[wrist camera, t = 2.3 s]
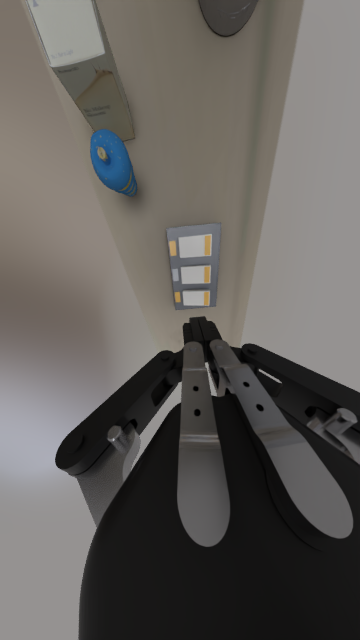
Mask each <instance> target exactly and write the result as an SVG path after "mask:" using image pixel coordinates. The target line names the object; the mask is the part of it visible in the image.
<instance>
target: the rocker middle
mask: <svg viewBox="0 0 360 640" xmlns="http://www.w3.org/2000/svg"><path fill="white" fill-rule="evenodd" d="M210 275H211V265H195V266H182V267H181V277H182V284H200V283H210Z"/></svg>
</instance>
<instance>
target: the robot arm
mask: <svg viewBox="0 0 360 640" xmlns="http://www.w3.org/2000/svg"><path fill="white" fill-rule="evenodd" d="M257 1H258V0H199V2H200V6H201V9H202V12H203V14H204V17H205V19H206V21H207V22H208V24H209V26H210V27H211V28H212V29H213V30H214V31H215V32H216V33H218V34H220V35H226V36H228V35H231V34H234V33H236V32H237V31H238V30H240V29H241V28H242V27H243V26H244V24H245V23H246V22H247V21H248V19H249V17H250V16H251V14H252V12H253V10H254V8H255V6H256V3H257ZM189 322H190V323H184V325H183V336H184V347H183V349H182V350H181V351H179V352H177V353H173V352H172V351H169V350H165V351H161V352H159V353H158V354H157V355H156V356H155V357H154V358H152V359H151V360H150V361H149V362H148V363H147V364H146V365H145V366H144V367H142V368H141V369H140V370H139V371H138V372H137V373H136V374H135V375H134V376H132V377H131V378H130V379H129V380H128V381H127V382H126V383H125V384H124V385H122V386H121V387H120V388H119V389H118V390H117V391H116V392H115V393H114V394H112V395H111V396H110V397H109V398H108V399H107V400H106V401H105V402H104V403H103V404H101V405H100V406H99V407H98V408H97V409H96V410H95V411H94V412H92V413H91V414H90V415H89V416H88V417H87V418H86V419H85V420H84V421H82V422H81V423H80V424H79V425H78V426H77V427H76V428H75V429H74V430H72V431H71V432H70V433H69V434H68V435H67V436H66V438H65V439H64V440H63V441H62V443H61V445H60V446H59V448H58V451H57V454H56V458H55V462H56V466H57V467H58V468H60V469H61V470H64V471H66V472H67V473H68V474H69V475H71V476H73V477H75V478H77V480H78V482H79V485H80V488H81V490H82V493H83V495H84V497H85V500H86V502H87V505H88V507H89V510H90V512H91V514H92V517H93V519H94V522H95V524H96V527H97V530H96V532H95V535H94V538H93V540H92V543H91V546H90V549H89V552H88V556H87V560H86V564H85V568H84V573H83V579H82V585H81V593H80V606H79V640H360V393H359V392H357V391H355V390H353V389H351V388H349V387H346V386H344V385H342V384H340V383H338V382H335V381H333V380H331V379H329V378H327V377H325V376H323V375H320V374H318V373H316V372H314V371H312V370H309V369H307V368H305V367H303V366H301V365H298V364H296V363H294V362H292V361H290V360H288V359H286V358H283V357H281V356H279V355H277V354H275V353H273V352H270V351H268V350H266V349H264V348H262V347H259V346H257V345H255V344H244V345H243V346H242V348H236V347H231V346H229V344H228V343H227V342H225V341H223V340H222V338H221V336H220V333H219V331H218V329H217V328H216V325H215V323H213V322H212V321H207V320H206V317H205V316H203V317H192V318H189ZM205 362H208V364H209V373H210V376H211V378H212V381H213V384H214V387H215V390H216V393H217V396H212V395H211V391H210V385H209V379H208V372H207V369H206V367H205ZM259 369H261V370H263V371H264V372H266V373H268V374H270V375H271V376H274V377H275V378H277V379H279V380H280V381H281V382H282V383H278V382H276V381H275V380H273V379H271V378H270V377H268V376H266V375H264V374H263V373H261V372H259ZM181 381H182V394H181V403H179V404H177V405H176V406H175V407H174V408H173V409H172V410H171V411H170V412H169V413H168V415H167V416H166V418H165V419H164V421H163V422H162V424H161V425H160V427H159V429H158V430H157V432H156V433H155V435H154V436H153V438H152V440H151V441H150V443H149V444H148V446H147V447H146V449H145V450H144V452H143V453H142V455H141V456H140V458H139V460H138V461H137V463H136V464H135V466H134V467H133V469H132V471H131V467H132V464H133V462H134V460H135V458H136V456H137V454H138V452H139V449H140V437H139V435H140V434H141V433H142V431H143V430H144V429H145V428H146V426H147V425H148V423H149V422H150V421H151V419H152V418H153V417H154V416H155V414H156V413H157V411H158V410H159V409H160V408H161V406H162V405H163V404H164V402H165V401H166V400H167V398H168V397H169V396H170V394H171V393H172V392H173V390H174V389H175V388H176V386H177V385H178V383H179V382H181Z"/></svg>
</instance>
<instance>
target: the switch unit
mask: <svg viewBox="0 0 360 640" xmlns="http://www.w3.org/2000/svg"><path fill="white" fill-rule="evenodd" d="M166 229H167V238H168V247H169V256H170V265H171V273H172V282H173V291H174V300H175V309H176V310H182V309H193V308H204V307H215V306H216V298H217V282H218V267H219V251H220V236H221V223H213V224H203V225H193V226H183V227H173V228H166ZM207 234H212V247H211V256H202V257H188V258H180V251H179V237H189V236H198V235H207ZM195 265H211V275H210V283H200V284H182V277H181V267H182V266H195ZM206 289H210V303H209V306H188V305H184V304H183V290H206Z"/></svg>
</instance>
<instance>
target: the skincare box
mask: <svg viewBox="0 0 360 640" xmlns="http://www.w3.org/2000/svg"><path fill="white" fill-rule="evenodd" d="M26 3H27V6H28V9H29V11H30V14H31V17H32V20H33V22H34V25H35V28H36V30H37V33H38V36H39V39H40V41H41V44H42V47H43V49H44V52H45V54H46V57H47V59H48V62H49V65H50V66H51V68H52V69H53V71H54V72H55V74H56V75H57V77H58V78H59V80H60V81H61V83H62V84H63V86H64V87H65V89H66V90H67V92H68V93H69V95H70V96H71V98H72V99H73V101H74V102H75V104H76V105H77V107H78V108H79V110H80V111H81V112H82V114H83V115H84V117H85V118H86V120H87V121H88V123H89V124H90V126H91V127H92V129H93V130H94V131H95V132H96V131H98V130H100V129H108V130H110V131H112V132H113V133H115V134H116V135H117V136H118V137H119V138H120V139H121V140H122V141H125V140H129V139H133V138H135V136H134V131H133V126H132V121H131V116H130V111H129V107H128V103H127V99H126V96H125V93H124V89H123V86H122V83H121V80H120V77H119V74H118V70H117V67H116V64H115V61H114V58H113V54H112V51H111V48H110V45H109V42H108V39H107V35H106V32H105V29H104V26H103V23H102V19H101V16H100V13H99V10H98V7H97V4H96V0H26Z"/></svg>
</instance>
